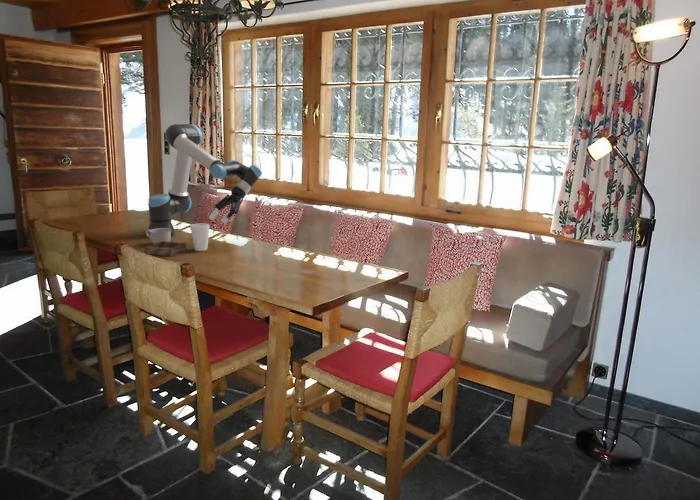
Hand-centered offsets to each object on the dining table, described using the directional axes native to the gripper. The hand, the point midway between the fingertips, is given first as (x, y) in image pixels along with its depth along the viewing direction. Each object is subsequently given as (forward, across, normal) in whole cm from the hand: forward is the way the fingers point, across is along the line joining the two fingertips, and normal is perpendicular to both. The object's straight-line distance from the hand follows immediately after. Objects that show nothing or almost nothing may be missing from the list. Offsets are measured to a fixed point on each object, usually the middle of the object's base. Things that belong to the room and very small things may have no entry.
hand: (216, 220), depth 283 cm
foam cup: (+17, +1, -4) cm, 17 cm away
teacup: (+25, +27, +5) cm, 37 cm away
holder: (+28, +6, +8) cm, 30 cm away
